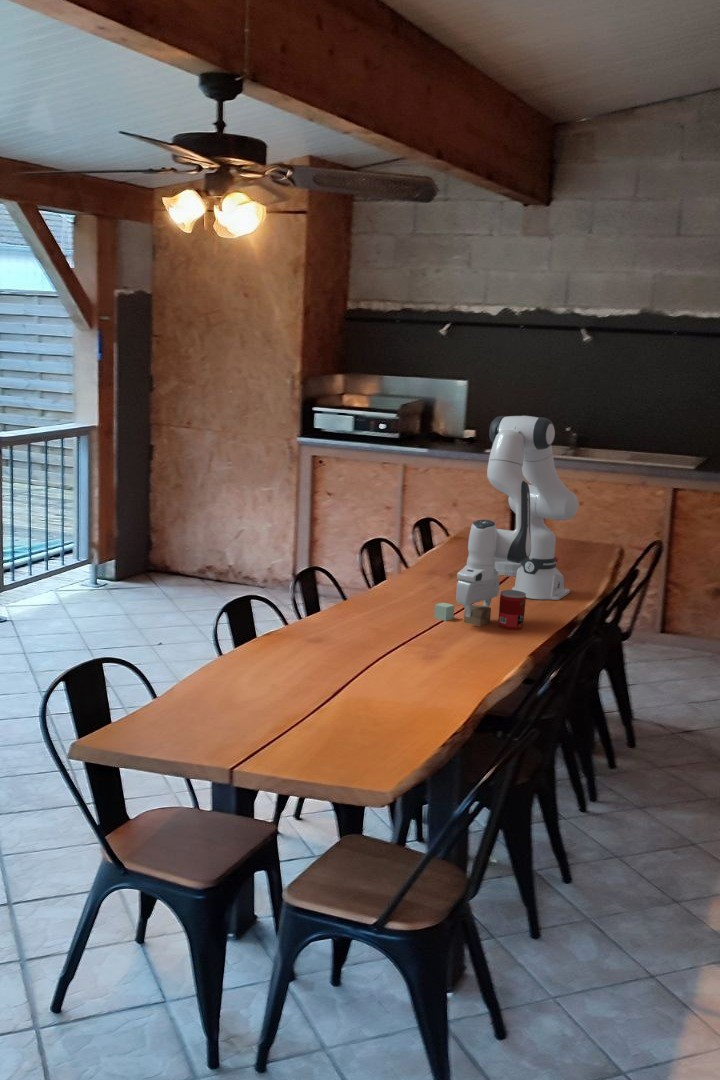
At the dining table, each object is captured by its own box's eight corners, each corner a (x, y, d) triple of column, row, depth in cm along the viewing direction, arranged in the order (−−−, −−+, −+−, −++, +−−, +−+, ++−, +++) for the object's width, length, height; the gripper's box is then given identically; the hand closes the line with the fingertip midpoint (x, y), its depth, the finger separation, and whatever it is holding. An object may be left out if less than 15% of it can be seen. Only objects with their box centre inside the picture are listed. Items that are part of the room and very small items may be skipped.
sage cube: (441, 615, 345) (442, 602, 344) (453, 618, 342) (454, 605, 341) (434, 618, 341) (434, 604, 340) (445, 621, 339) (446, 607, 338)
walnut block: (473, 619, 343) (474, 604, 342) (489, 623, 339) (491, 607, 338) (463, 622, 338) (464, 607, 337) (479, 626, 335) (481, 611, 334)
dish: (475, 574, 410) (476, 561, 409) (478, 562, 431) (479, 550, 430) (533, 579, 406) (534, 566, 405) (534, 567, 428) (535, 555, 427)
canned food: (522, 631, 331) (525, 596, 329) (496, 628, 333) (499, 594, 331) (523, 624, 339) (526, 591, 337) (498, 622, 340) (501, 588, 338)
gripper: (489, 565, 345) (485, 607, 348) (454, 574, 330) (450, 617, 332) (505, 569, 342) (502, 611, 344) (471, 577, 326) (467, 621, 328)
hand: (476, 614), depth 338 cm, fingers open, 8 cm apart
